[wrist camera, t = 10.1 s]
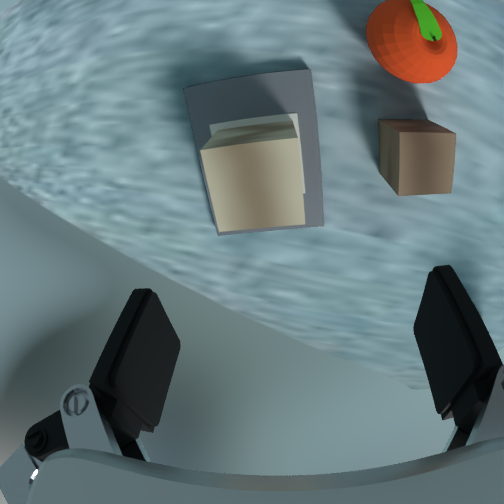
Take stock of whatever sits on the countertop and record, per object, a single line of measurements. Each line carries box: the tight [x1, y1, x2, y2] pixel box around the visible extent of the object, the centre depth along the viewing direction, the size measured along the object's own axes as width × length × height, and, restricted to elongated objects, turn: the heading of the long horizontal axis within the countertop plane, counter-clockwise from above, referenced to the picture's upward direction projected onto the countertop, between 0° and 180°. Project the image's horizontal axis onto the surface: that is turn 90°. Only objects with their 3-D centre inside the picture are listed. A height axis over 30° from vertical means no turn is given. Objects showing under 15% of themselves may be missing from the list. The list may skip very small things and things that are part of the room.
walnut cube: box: [378, 119, 456, 196], centre depth 21 cm, size 5×5×5 cm
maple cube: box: [200, 121, 305, 232], centre depth 21 cm, size 6×6×6 cm
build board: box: [183, 69, 324, 236], centre depth 24 cm, size 10×14×1 cm
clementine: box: [366, 0, 457, 83], centre depth 14 cm, size 8×7×7 cm
